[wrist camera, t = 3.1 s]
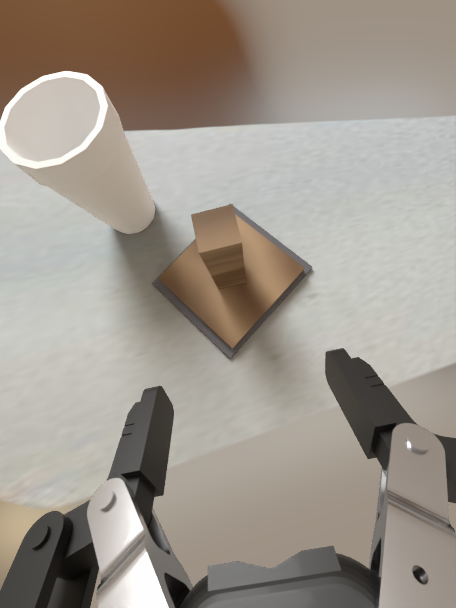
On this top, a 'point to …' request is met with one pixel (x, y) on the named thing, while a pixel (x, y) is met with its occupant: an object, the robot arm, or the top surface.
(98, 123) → the foam cup
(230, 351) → the mat
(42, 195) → the top surface
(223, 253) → the lid
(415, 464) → the robot arm
